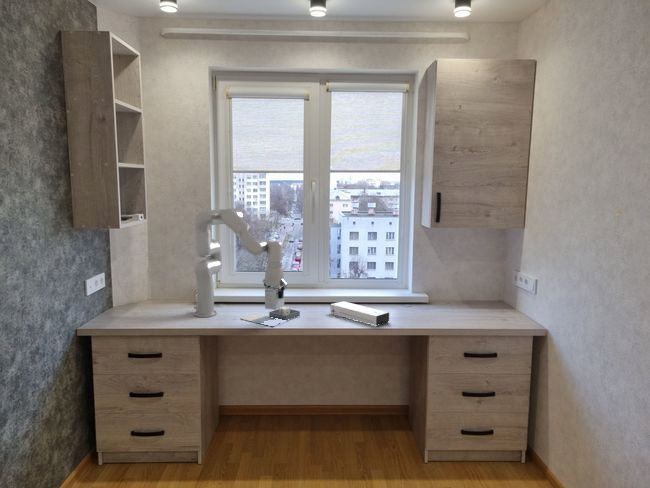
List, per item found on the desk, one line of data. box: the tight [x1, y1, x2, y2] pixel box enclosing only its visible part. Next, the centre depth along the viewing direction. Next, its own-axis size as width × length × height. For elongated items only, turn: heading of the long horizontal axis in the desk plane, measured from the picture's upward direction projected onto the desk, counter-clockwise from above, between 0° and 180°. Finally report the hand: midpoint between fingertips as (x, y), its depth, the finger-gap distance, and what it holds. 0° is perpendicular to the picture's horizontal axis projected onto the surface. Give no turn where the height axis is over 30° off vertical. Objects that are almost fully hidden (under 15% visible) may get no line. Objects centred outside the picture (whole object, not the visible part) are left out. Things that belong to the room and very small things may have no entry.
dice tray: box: [268, 308, 301, 321], centre depth 249 cm, size 12×12×3 cm
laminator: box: [330, 300, 390, 326], centre depth 249 cm, size 34×12×6 cm, turn 46°
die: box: [278, 306, 291, 315], centre depth 249 cm, size 5×5×5 cm
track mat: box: [239, 313, 276, 325], centre depth 241 cm, size 24×12×1 cm, turn 54°
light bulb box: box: [264, 286, 285, 311], centre depth 235 cm, size 11×7×11 cm, turn 160°
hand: (274, 296), depth 235 cm, fingers closed on light bulb box, 8 cm apart
